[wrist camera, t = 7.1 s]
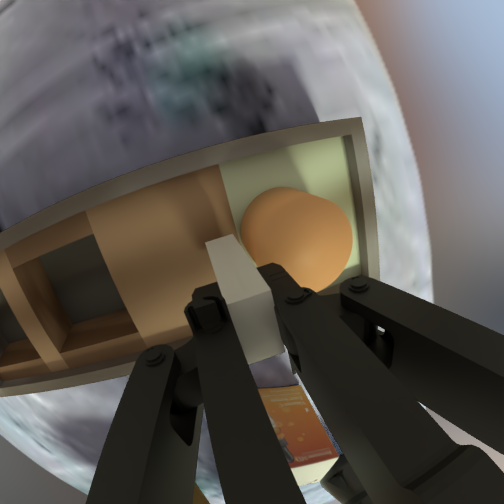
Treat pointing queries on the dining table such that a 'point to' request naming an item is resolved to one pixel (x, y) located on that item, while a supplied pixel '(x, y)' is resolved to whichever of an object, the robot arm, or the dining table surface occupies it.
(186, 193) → the track
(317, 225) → the brown egg
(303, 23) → the dining table surface
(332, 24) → the dining table surface
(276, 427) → the small box
